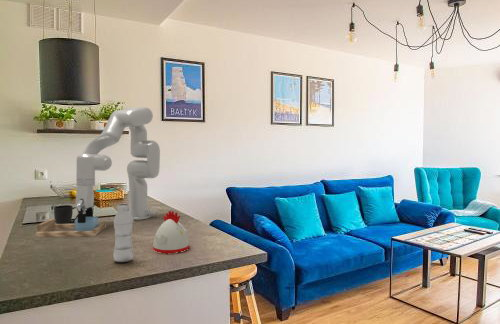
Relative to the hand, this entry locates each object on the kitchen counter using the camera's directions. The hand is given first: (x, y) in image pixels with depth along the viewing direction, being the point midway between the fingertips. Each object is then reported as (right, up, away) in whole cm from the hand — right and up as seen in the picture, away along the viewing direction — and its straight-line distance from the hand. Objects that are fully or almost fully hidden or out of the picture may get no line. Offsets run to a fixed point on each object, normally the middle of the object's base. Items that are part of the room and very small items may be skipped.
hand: (85, 220), depth 161 cm
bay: (-6, -6, 0) cm, 8 cm away
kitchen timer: (+43, -8, -19) cm, 48 cm away
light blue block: (0, -5, +1) cm, 5 cm away
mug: (-17, -5, +17) cm, 25 cm away
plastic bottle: (+29, -9, -35) cm, 47 cm away
